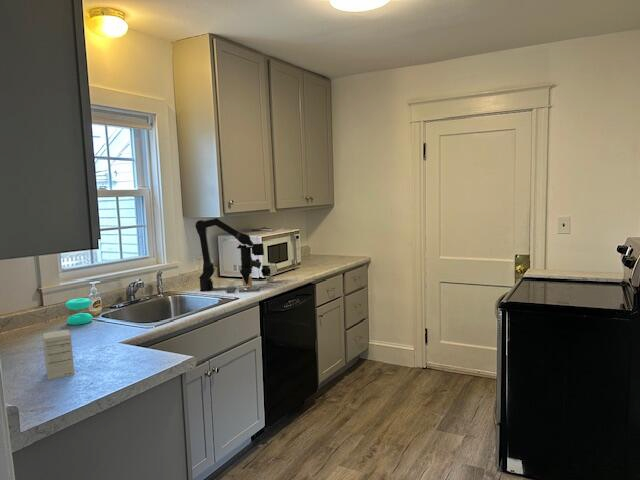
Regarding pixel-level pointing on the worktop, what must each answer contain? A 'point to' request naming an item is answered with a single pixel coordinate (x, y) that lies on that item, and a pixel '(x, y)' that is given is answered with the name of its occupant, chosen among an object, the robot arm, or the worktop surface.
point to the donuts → (80, 317)
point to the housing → (248, 281)
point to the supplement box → (58, 354)
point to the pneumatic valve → (269, 271)
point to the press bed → (248, 289)
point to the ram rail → (230, 289)
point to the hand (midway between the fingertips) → (247, 283)
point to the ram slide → (230, 283)
